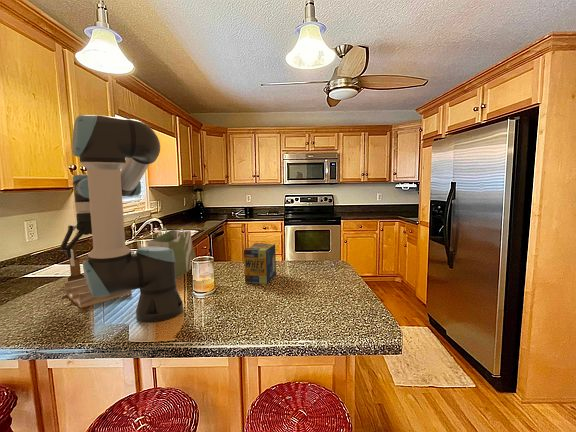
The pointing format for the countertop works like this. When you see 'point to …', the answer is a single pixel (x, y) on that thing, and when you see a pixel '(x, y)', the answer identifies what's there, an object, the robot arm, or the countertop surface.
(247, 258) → the protein box
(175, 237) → the grocery bag
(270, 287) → the countertop surface
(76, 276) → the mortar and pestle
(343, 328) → the countertop surface
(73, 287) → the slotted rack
